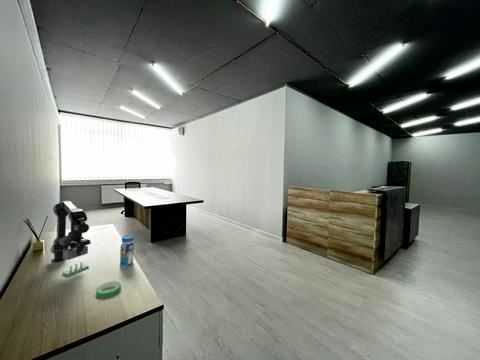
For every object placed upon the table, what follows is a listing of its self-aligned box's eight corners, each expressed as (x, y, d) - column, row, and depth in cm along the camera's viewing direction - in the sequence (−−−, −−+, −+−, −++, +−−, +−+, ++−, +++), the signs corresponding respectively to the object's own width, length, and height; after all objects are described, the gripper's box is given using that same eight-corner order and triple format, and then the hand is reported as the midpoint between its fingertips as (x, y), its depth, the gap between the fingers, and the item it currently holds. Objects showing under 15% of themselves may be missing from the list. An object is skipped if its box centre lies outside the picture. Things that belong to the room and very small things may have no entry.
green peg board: (62, 274, 119) (62, 267, 119) (83, 266, 131) (83, 259, 131) (67, 276, 118) (67, 269, 118) (88, 267, 129) (88, 261, 129)
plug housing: (62, 258, 119) (63, 250, 119) (82, 252, 130) (82, 244, 130) (68, 260, 118) (68, 251, 117) (87, 253, 128) (87, 245, 128)
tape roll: (102, 301, 98) (102, 295, 98) (92, 293, 104) (92, 288, 104) (124, 290, 107) (124, 285, 107) (114, 283, 113) (114, 279, 113)
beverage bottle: (118, 264, 135) (119, 236, 135) (132, 261, 141) (133, 234, 140) (120, 269, 129) (121, 239, 128) (134, 266, 134) (135, 237, 134)
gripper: (51, 231, 119) (51, 256, 119) (71, 235, 112) (70, 262, 113) (72, 226, 129) (72, 249, 130) (91, 230, 123) (90, 255, 123)
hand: (75, 254), depth 124 cm, fingers closed on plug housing, 5 cm apart
